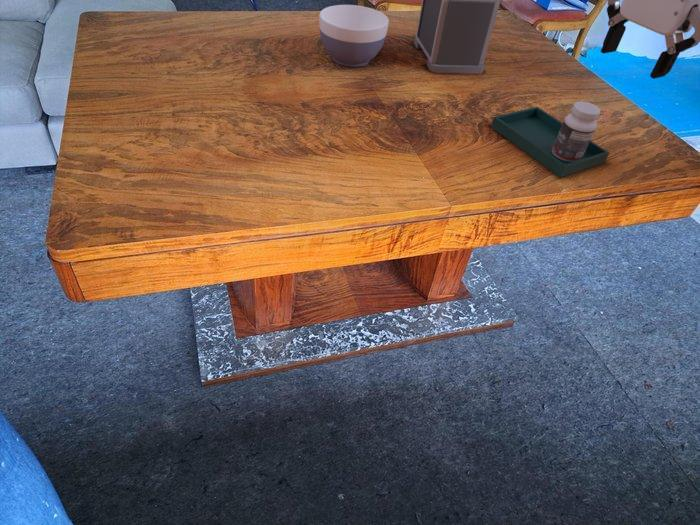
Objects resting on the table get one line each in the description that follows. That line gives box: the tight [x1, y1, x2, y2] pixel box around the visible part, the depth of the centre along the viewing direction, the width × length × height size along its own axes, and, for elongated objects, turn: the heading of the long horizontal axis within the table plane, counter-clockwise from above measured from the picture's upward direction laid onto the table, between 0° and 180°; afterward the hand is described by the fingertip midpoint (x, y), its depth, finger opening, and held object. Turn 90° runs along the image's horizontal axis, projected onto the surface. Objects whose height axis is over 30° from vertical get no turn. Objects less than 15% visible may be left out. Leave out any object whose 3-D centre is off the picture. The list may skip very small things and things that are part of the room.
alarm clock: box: [413, 0, 502, 75], centre depth 121 cm, size 18×13×18 cm
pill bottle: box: [552, 101, 601, 162], centre depth 94 cm, size 6×6×10 cm
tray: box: [490, 106, 610, 178], centre depth 100 cm, size 19×12×2 cm, turn 30°
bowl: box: [318, 4, 390, 68], centre depth 118 cm, size 16×16×10 cm
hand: (631, 63), depth 81 cm, fingers open, 9 cm apart
